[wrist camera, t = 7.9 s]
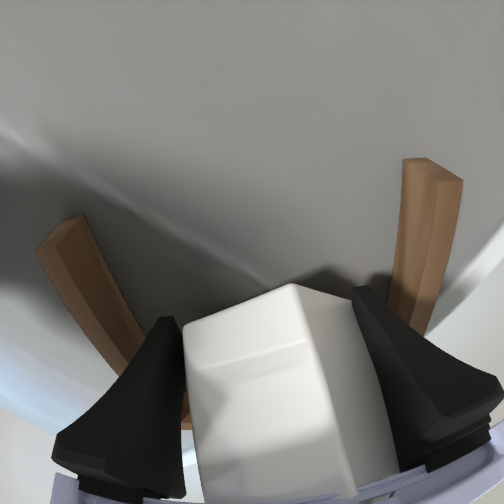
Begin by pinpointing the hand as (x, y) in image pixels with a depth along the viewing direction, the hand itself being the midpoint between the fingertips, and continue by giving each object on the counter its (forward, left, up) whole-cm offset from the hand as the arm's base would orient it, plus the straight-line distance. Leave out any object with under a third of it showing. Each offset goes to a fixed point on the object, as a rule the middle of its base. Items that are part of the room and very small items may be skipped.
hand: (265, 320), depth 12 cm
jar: (0, -2, -1) cm, 2 cm away
